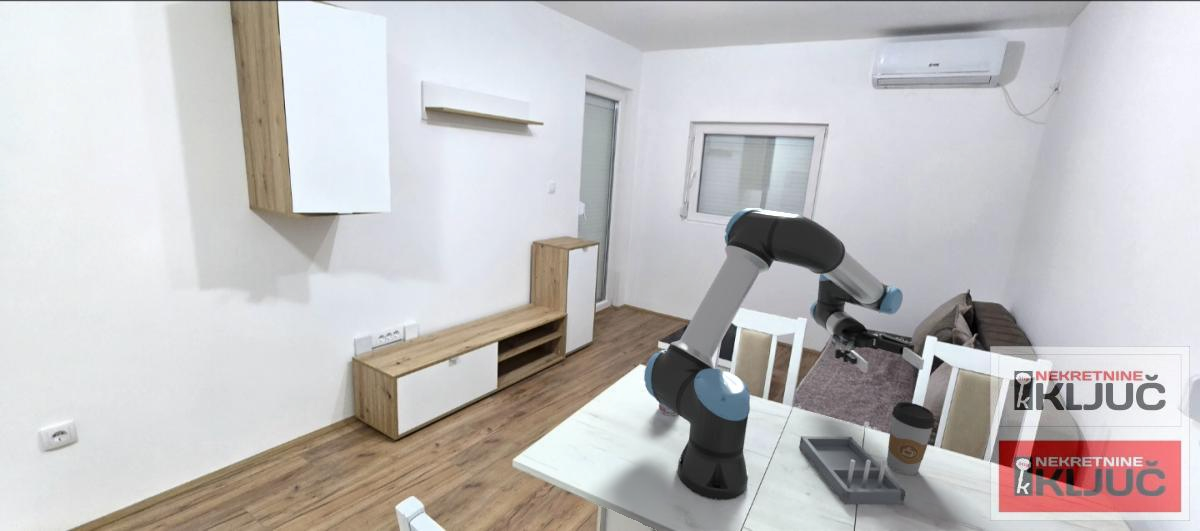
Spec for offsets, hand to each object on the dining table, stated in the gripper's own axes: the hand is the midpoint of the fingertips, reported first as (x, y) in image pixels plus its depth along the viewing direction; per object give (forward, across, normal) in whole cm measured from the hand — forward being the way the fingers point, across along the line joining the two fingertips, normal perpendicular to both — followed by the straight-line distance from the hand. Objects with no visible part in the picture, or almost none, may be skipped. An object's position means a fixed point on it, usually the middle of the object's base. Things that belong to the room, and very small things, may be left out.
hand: (894, 366), depth 114 cm
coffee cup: (+8, 0, -23) cm, 24 cm away
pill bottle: (-15, +52, -19) cm, 57 cm away
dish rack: (+10, +15, -21) cm, 28 cm away
